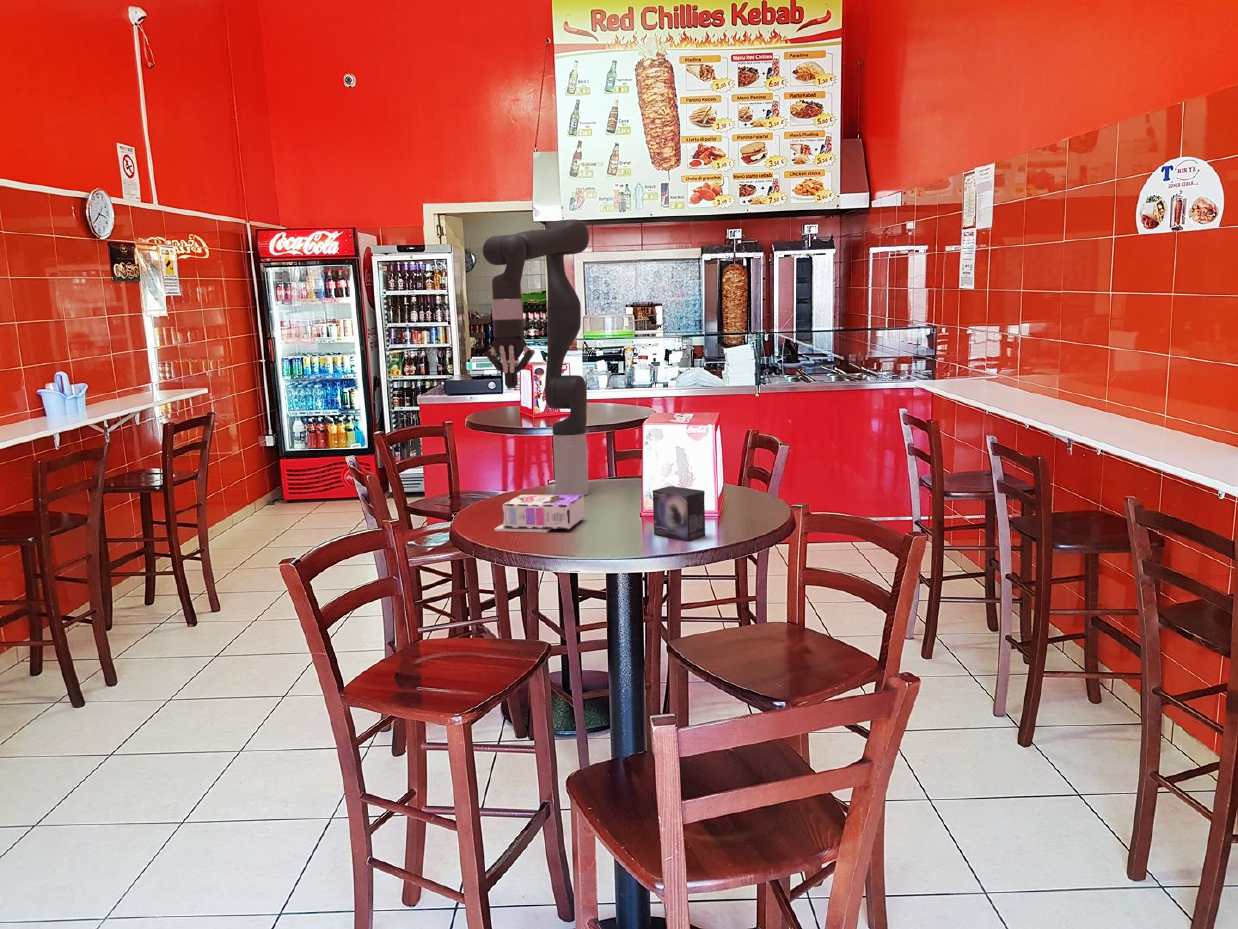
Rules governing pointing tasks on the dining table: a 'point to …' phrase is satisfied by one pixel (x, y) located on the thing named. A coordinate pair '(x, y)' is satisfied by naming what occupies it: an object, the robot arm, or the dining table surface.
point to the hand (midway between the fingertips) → (511, 387)
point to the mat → (521, 529)
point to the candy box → (543, 511)
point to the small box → (679, 513)
